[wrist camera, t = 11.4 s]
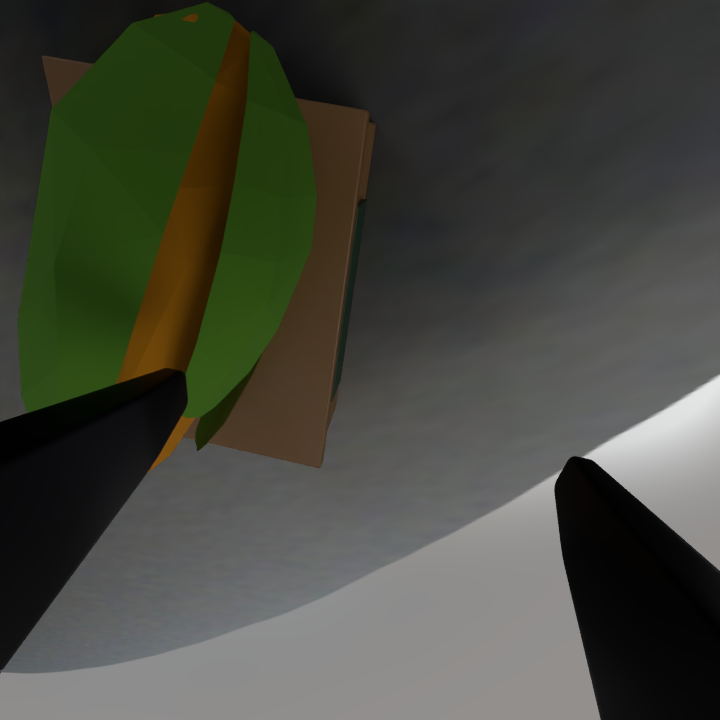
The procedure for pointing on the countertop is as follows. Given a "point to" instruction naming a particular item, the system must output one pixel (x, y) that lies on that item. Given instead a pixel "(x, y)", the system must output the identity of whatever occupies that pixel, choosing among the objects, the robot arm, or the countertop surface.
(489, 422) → the countertop surface
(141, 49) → the corn
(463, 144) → the countertop surface
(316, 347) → the takeaway box
